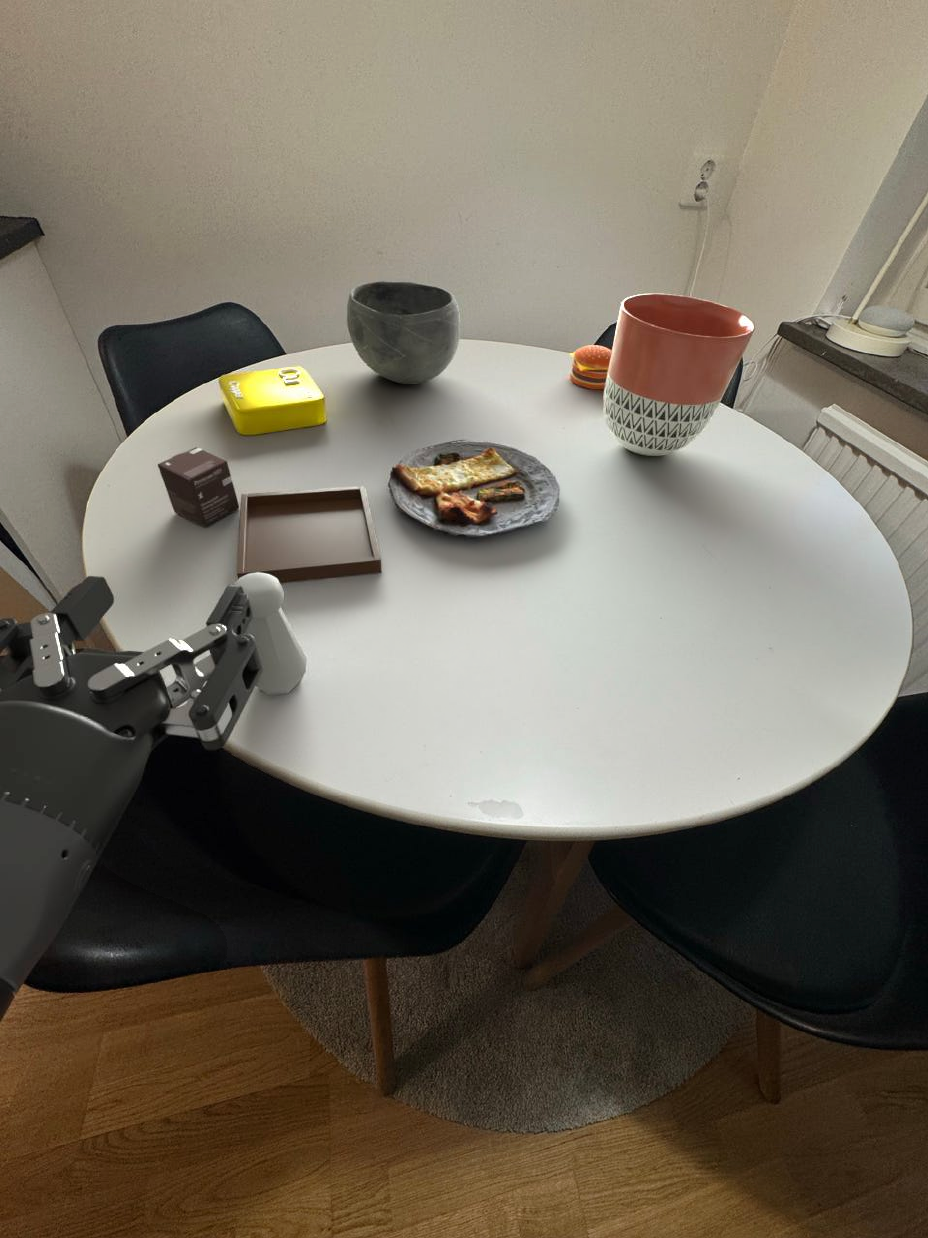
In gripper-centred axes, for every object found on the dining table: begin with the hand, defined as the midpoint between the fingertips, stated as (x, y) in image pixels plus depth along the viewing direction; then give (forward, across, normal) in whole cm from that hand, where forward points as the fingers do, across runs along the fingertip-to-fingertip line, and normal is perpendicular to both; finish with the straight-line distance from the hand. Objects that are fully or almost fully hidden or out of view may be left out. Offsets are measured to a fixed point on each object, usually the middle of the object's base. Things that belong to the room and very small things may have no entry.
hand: (171, 591), depth 34 cm
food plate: (+47, -18, +19) cm, 54 cm away
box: (+37, +17, +18) cm, 45 cm away
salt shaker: (+10, 0, +20) cm, 23 cm away
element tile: (+68, +17, +16) cm, 72 cm away
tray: (+34, +3, +19) cm, 38 cm away
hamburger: (+95, -42, +17) cm, 105 cm away
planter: (+68, -48, +18) cm, 85 cm away
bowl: (+87, -3, +16) cm, 89 cm away
